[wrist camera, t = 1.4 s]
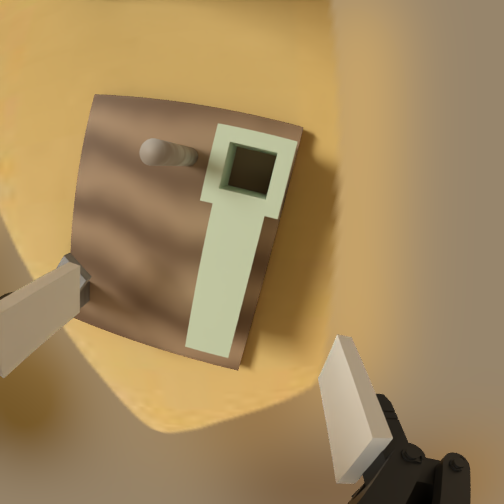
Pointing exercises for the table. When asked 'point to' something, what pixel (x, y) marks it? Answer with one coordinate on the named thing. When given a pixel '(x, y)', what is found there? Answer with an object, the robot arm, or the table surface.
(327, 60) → the table surface
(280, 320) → the table surface
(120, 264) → the pintle board
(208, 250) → the link
